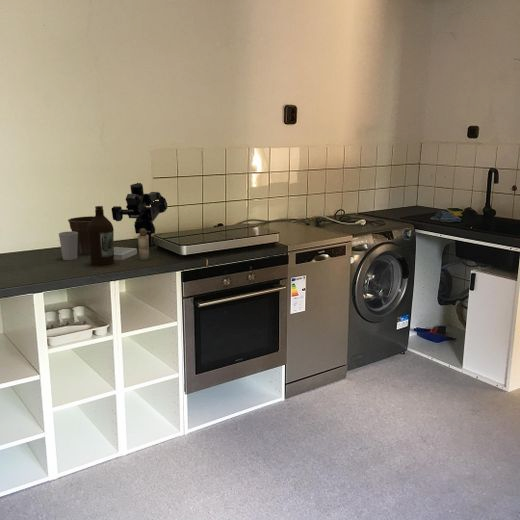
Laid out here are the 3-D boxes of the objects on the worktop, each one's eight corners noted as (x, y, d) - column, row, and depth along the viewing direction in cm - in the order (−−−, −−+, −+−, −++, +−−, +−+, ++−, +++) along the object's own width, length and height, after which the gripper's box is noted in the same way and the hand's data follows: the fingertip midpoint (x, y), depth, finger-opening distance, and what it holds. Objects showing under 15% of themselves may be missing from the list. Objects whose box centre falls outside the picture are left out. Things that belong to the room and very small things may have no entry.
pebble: (117, 257, 261) (116, 250, 260) (123, 257, 260) (122, 251, 259) (113, 258, 258) (113, 252, 257) (119, 259, 257) (119, 252, 256)
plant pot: (64, 256, 266) (61, 221, 262) (79, 249, 281) (76, 215, 278) (98, 257, 264) (96, 221, 260) (111, 249, 280) (109, 216, 276)
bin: (113, 253, 271) (113, 247, 271) (137, 254, 268) (137, 248, 268) (97, 259, 258) (97, 253, 258) (122, 261, 255) (122, 254, 254)
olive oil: (84, 265, 248) (80, 206, 242) (104, 260, 256) (100, 204, 251) (100, 268, 242) (97, 208, 236) (120, 264, 250) (117, 206, 245)
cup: (82, 257, 262) (80, 231, 259) (75, 261, 254) (73, 234, 252) (65, 257, 263) (63, 231, 260) (57, 261, 255) (55, 234, 252)
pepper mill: (142, 258, 260) (140, 227, 257) (151, 259, 259) (149, 227, 256) (137, 260, 256) (135, 229, 253) (146, 261, 255) (145, 229, 252)
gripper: (115, 191, 273) (103, 203, 259) (154, 191, 270) (144, 204, 257) (119, 213, 278) (107, 226, 264) (157, 214, 275) (147, 227, 262)
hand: (126, 220), depth 261 cm, fingers open, 9 cm apart
